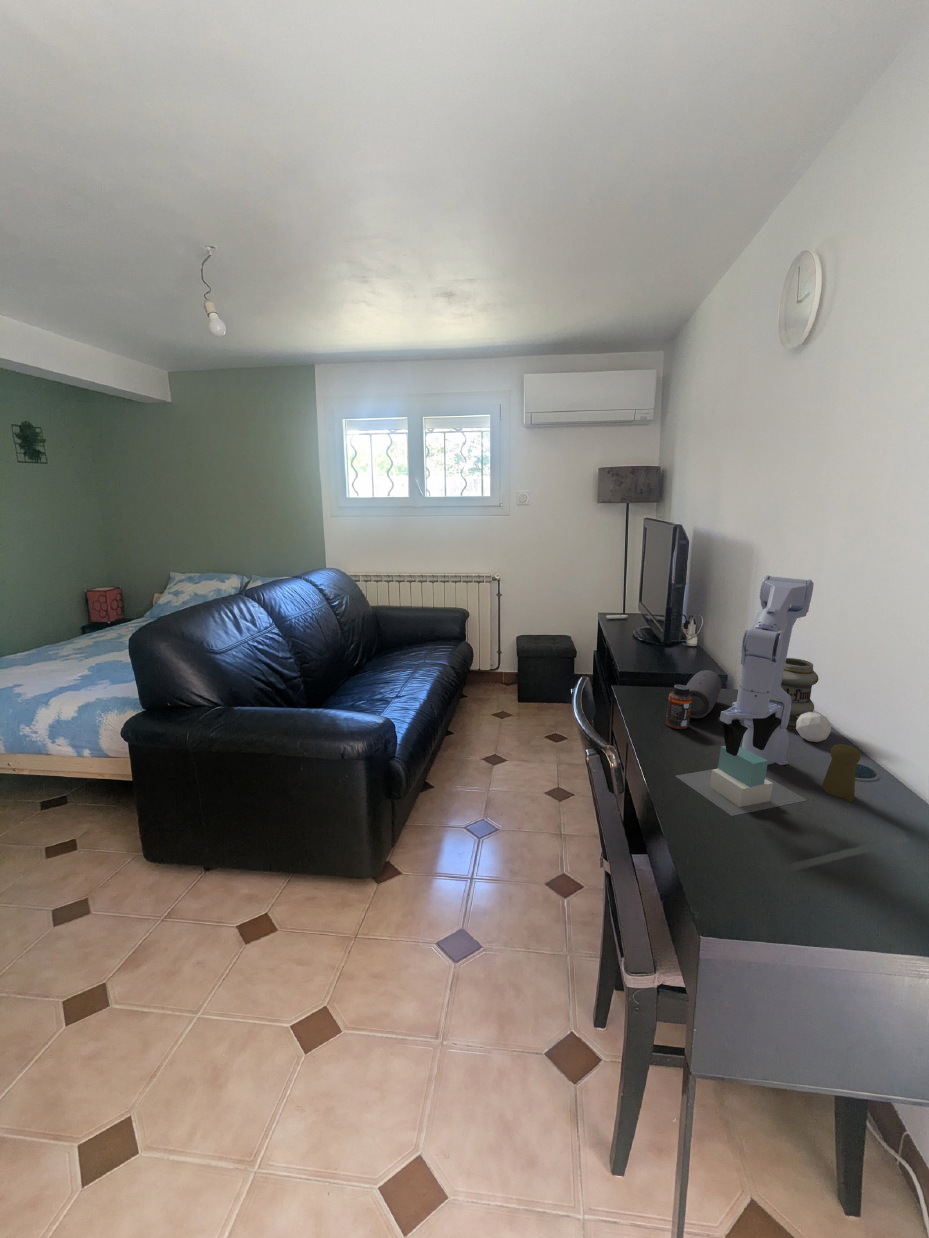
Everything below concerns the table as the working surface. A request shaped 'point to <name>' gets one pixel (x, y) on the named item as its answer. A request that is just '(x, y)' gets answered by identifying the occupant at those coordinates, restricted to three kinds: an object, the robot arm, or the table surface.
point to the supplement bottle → (679, 707)
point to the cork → (842, 772)
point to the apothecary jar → (798, 687)
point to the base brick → (739, 789)
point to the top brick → (743, 766)
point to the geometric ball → (813, 726)
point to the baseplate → (702, 786)
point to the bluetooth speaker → (703, 692)
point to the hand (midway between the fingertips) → (744, 750)
